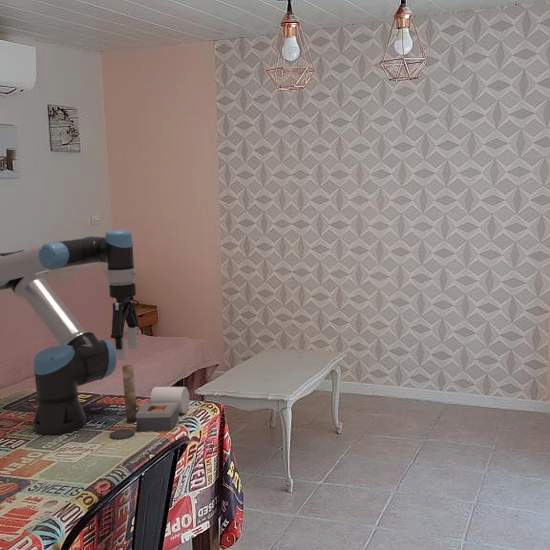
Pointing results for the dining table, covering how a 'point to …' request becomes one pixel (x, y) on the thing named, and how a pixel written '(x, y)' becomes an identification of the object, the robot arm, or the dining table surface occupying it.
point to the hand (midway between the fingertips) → (127, 354)
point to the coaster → (121, 434)
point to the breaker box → (157, 417)
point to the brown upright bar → (129, 393)
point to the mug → (171, 397)
